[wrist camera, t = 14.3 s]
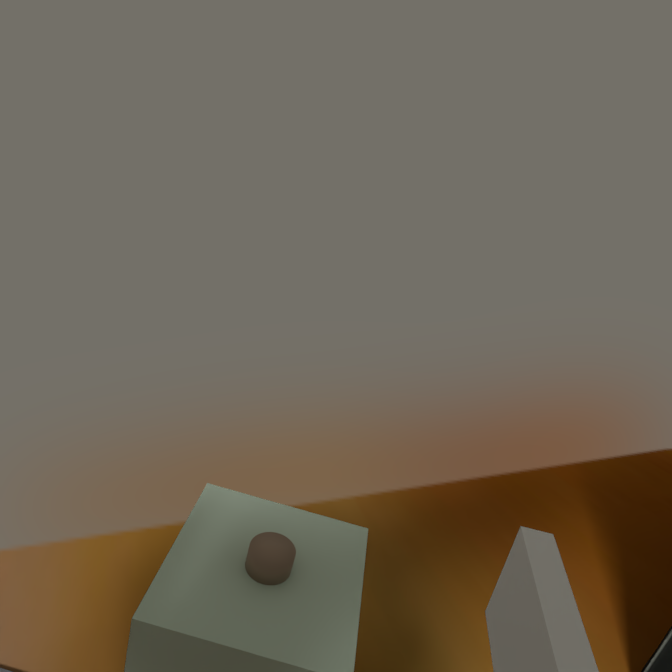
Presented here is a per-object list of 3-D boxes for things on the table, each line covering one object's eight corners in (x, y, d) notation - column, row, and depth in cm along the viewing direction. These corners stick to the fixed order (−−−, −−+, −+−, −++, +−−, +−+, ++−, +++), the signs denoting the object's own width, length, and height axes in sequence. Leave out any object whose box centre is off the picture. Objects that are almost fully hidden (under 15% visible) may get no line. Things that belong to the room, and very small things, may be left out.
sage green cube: (329, 645, 38) (373, 512, 33) (303, 817, 28) (359, 663, 24) (184, 603, 38) (210, 466, 34) (111, 760, 29) (134, 598, 24)
